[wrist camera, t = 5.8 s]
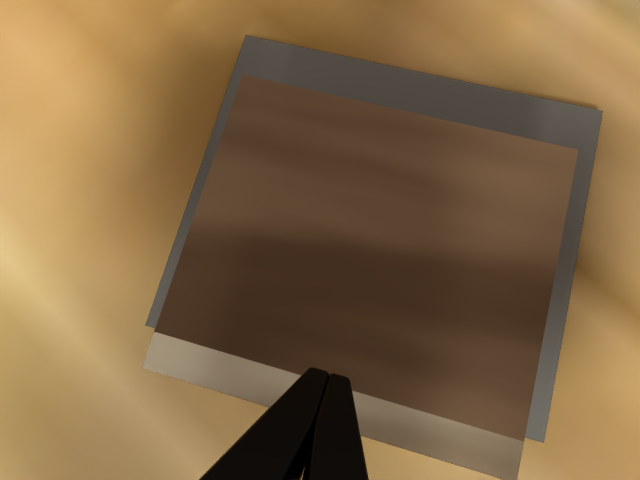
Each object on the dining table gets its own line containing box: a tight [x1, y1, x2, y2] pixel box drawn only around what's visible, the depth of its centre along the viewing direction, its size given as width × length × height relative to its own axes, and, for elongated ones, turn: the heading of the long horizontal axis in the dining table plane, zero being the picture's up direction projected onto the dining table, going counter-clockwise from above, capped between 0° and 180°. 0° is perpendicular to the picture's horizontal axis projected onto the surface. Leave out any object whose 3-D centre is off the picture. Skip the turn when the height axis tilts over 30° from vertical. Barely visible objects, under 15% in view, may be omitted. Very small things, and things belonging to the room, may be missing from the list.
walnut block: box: [142, 75, 578, 480], centre depth 15 cm, size 4×10×9 cm
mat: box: [146, 35, 603, 443], centre depth 18 cm, size 12×14×1 cm
